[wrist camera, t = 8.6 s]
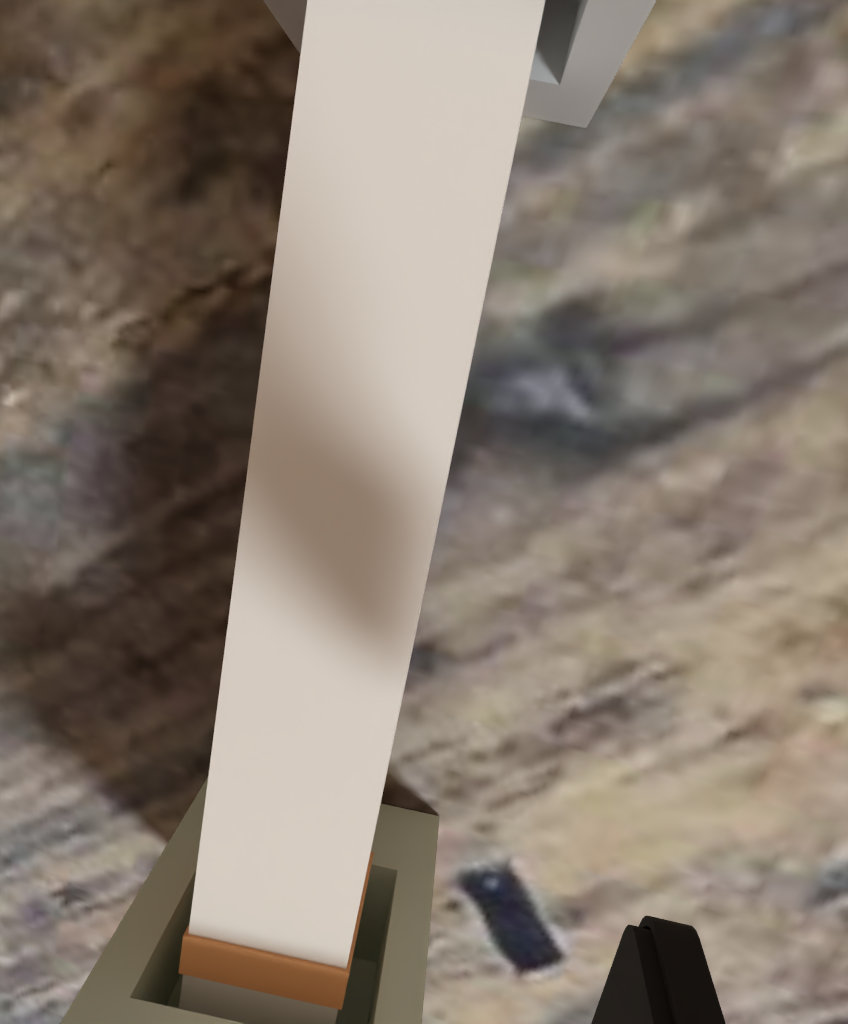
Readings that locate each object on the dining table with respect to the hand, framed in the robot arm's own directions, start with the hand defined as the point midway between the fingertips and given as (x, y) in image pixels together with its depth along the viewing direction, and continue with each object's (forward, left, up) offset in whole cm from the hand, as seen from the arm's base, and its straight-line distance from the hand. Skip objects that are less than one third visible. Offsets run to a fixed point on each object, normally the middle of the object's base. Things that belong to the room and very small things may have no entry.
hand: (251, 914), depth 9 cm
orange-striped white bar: (-3, 0, -8) cm, 9 cm away
